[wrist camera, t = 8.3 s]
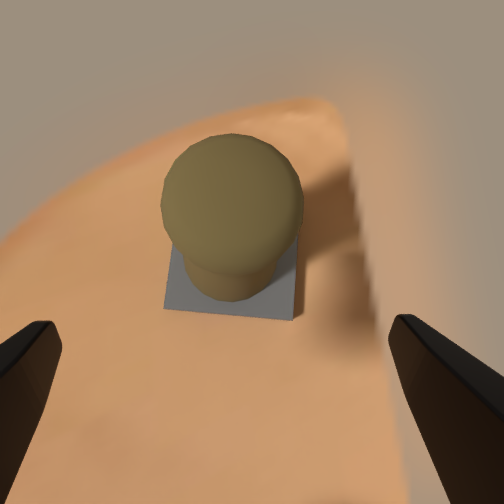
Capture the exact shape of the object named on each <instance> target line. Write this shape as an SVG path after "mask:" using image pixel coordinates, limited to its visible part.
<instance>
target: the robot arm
mask: <svg viewBox="0 0 504 504" xmlns="http://www.w3.org/2000/svg"><path fill="white" fill-rule="evenodd" d="M388 341H389V346H390V349H391V353H392V356H393V359H394V362H395V366H396V369H397V372H398V376H399V379H400V382H401V385H402V389H403V391H404V394H405V397H406V400H407V402H408V405H409V407H410V410H411V412H412V414H413V416H414V419H415V421H416V423H417V426H418V428H419V431H420V433H421V435H422V438H423V440H424V442H425V445H426V447H427V450H428V452H429V454H430V457H431V459H432V461H433V464H434V466H435V468H436V471H437V473H438V475H439V478H440V480H441V482H442V485H443V487H444V489H445V492H446V494H447V497H448V499H449V501H450V504H504V377H503V376H502V375H500V374H499V373H497V372H496V371H494V370H493V369H491V368H490V367H488V366H487V365H486V364H484V363H483V362H481V361H480V360H478V359H477V358H475V357H474V356H472V355H471V354H470V353H468V352H467V351H465V350H464V349H462V348H461V347H460V346H458V345H457V344H455V343H454V342H452V341H451V340H449V339H448V338H446V337H445V336H444V335H442V334H441V333H439V332H438V331H436V330H435V329H433V328H432V327H430V326H429V325H427V324H426V323H425V322H423V321H422V320H420V319H419V318H417V317H416V316H414V315H412V314H399V315H397V316H396V317H395V319H394V322H393V325H392V327H391V330H390V333H389V336H388ZM61 352H62V342H61V339H60V337H59V334H58V331H57V329H56V326H55V324H54V323H53V322H52V321H34V322H32V323H30V324H29V325H27V326H26V327H25V328H23V329H22V330H20V331H19V332H17V333H16V334H14V335H13V336H11V337H10V338H9V339H7V340H6V341H4V342H3V343H1V344H0V504H5V501H6V499H7V496H8V494H9V492H10V489H11V487H12V485H13V482H14V480H15V478H16V475H17V473H18V470H19V468H20V466H21V463H22V461H23V459H24V456H25V454H26V452H27V449H28V447H29V444H30V442H31V440H32V437H33V435H34V433H35V430H36V428H37V426H38V423H39V421H40V418H41V416H42V413H43V411H44V408H45V405H46V402H47V399H48V396H49V392H50V389H51V386H52V382H53V379H54V376H55V372H56V369H57V366H58V362H59V359H60V356H61Z"/></svg>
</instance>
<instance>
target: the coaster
mask: <svg viewBox="0 0 504 504" xmlns="http://www.w3.org/2000/svg"><path fill="white" fill-rule="evenodd" d="M297 245H298V234H297V236H296V238H295V241H294V243H293V244H292V245H291V246H290V247H289V248H288V249H287V251H286V252H285V253H284V254H283V255H282V256H281V257H280V258H279V259H278V260H277V265H276V269H275V272H274V274H273V276H272V278H271V281H270V282H269V283H268V284H267V285H266V286H265V287H264V289H263V290H262V291H261V292H259V293H258V294H256V295H254V296H252V297H251V298H249V299H246V300H242V301H237V302H225V301H217V300H215V299H213V298H211V297H208V296H206V295H204V294H203V293H202V292H201V291H200V290H199V289H197V288H196V287H195V286H194V285H193V284H192V282H191V280H190V278H189V276H188V275H187V273H186V271H185V265H184V259H183V255H182V254H181V253H180V252H179V251H178V250H177V249H176V247H175V246H174V244H173V245H172V252H171V259H170V266H169V273H168V280H167V287H166V294H165V301H164V308H163V309H168V310H179V311H189V312H200V313H211V314H222V315H233V316H244V317H255V318H266V319H277V320H287V321H293V309H294V293H295V277H296V261H297Z"/></svg>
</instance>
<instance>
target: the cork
mask: <svg viewBox="0 0 504 504" xmlns="http://www.w3.org/2000/svg"><path fill="white" fill-rule="evenodd" d="M160 206H161V212H162V218H163V224H164V228H165V230H166V231H167V233H168V235H169V237H170V239H171V241H172V242H173V244H174V246H175V247H176V249H177V250H178V251H179V252H180V253H181V254H182V255H183V259H184V265H185V271H186V273H187V275H188V276H189V278H190V280H191V282H192V284H193V285H194V286H195V287H196V288H197V289H199V290H200V291H201V292H202V293H203V294H204V295H206V296H208V297H211V298H213V299H215V300H217V301H225V302H237V301H242V300H246V299H249V298H251V297H252V296H254V295H256V294H258V293H259V292H261V291H262V290H263V289H264V287H265V286H266V285H267V284H268V283H269V282H270V281H271V278H272V276H273V274H274V272H275V269H276V265H277V260H278V259H279V258H280V257H281V256H282V255H283V254H284V253H285V252H286V251H287V249H288V248H289V247H290V246H291V245H292V244H293V243H294V241H295V238H296V236H297V234H298V232H299V229H300V227H301V225H302V220H303V207H304V196H303V192H302V188H301V184H300V180H299V176H298V175H297V173H296V171H295V170H294V168H293V167H292V165H291V164H290V162H289V160H288V159H287V158H286V157H285V156H284V155H283V154H281V153H280V152H279V151H278V150H277V149H276V148H274V147H273V146H272V145H270V144H268V143H266V142H264V141H261V140H259V139H257V138H255V137H252V136H247V135H240V134H232V133H231V134H224V135H217V136H211V137H208V138H206V139H204V140H202V141H200V142H198V143H195V144H193V145H191V146H190V147H189V148H188V149H187V150H186V151H184V152H183V153H182V154H181V155H180V156H179V157H178V158H177V159H176V160H175V161H174V163H173V165H172V167H171V169H170V170H169V172H168V174H167V176H166V178H165V181H164V187H163V192H162V198H161V205H160Z"/></svg>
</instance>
